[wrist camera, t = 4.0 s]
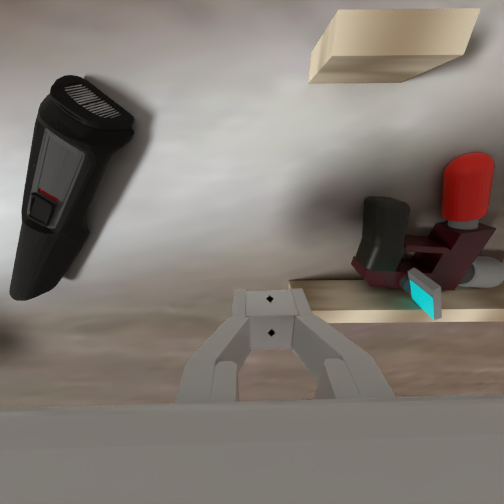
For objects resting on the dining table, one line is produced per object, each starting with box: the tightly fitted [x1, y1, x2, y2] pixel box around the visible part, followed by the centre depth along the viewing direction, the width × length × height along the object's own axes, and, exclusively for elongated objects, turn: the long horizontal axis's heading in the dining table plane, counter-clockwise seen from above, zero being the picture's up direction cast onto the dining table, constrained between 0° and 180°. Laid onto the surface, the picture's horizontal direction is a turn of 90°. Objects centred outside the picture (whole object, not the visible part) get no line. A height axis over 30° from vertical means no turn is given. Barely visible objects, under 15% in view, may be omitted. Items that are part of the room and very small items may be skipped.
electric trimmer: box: [10, 75, 134, 301], centre depth 13 cm, size 4×16×3 cm, turn 142°
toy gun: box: [351, 152, 504, 320], centre depth 13 cm, size 10×12×5 cm
